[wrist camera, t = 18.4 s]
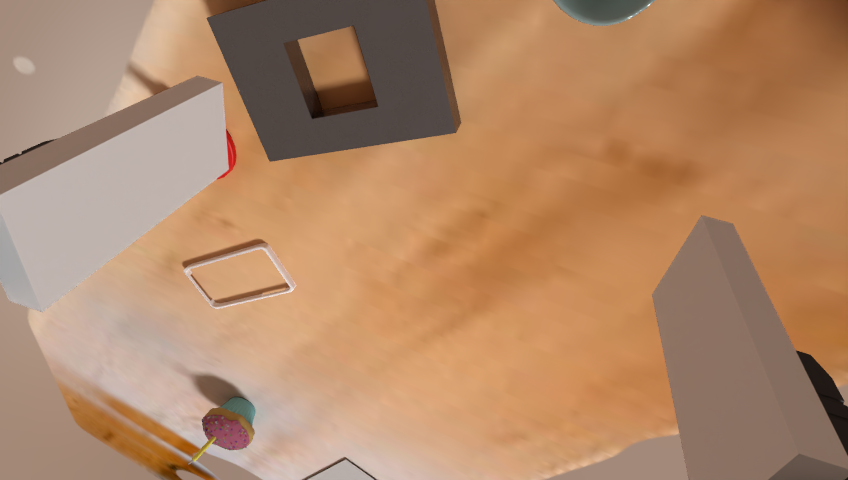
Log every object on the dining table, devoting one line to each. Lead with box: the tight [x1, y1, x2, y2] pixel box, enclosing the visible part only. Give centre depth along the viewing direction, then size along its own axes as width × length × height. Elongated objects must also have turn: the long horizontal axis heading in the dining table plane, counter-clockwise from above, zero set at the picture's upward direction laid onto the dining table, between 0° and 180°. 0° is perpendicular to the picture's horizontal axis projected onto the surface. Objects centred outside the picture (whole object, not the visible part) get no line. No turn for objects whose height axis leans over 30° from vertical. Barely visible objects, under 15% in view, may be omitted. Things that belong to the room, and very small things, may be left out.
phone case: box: [184, 243, 296, 309], centre depth 65 cm, size 7×1×15 cm
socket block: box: [207, 0, 461, 161], centre depth 45 cm, size 20×14×2 cm
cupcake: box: [188, 397, 255, 464], centre depth 78 cm, size 9×8×12 cm
